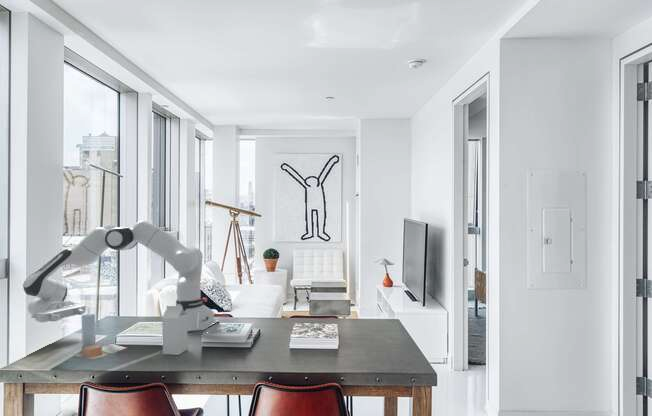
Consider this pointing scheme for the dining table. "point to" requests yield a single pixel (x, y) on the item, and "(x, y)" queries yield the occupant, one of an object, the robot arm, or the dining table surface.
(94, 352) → the terracotta marker
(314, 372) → the dining table surface
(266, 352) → the dining table surface
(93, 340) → the tall grey block
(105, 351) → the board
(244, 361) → the dining table surface
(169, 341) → the milk carton
